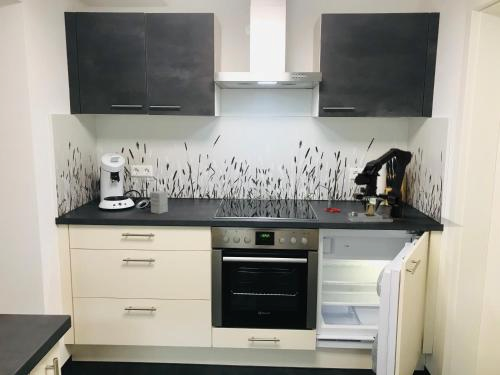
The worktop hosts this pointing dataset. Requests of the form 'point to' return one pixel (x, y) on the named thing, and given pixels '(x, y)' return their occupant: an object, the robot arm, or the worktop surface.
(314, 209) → the worktop surface
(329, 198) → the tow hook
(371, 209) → the brass pin
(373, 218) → the plate with square hole
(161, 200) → the supplement box
